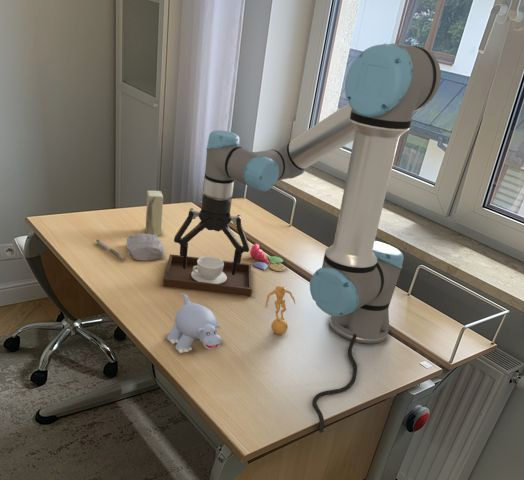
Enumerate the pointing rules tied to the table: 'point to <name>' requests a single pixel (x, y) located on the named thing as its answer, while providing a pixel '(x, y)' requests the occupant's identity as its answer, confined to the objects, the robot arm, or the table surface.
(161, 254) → the stone block
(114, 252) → the pen
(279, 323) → the figurine
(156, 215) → the box
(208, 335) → the hippopotamus toy
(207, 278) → the teacup
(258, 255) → the toy pieces
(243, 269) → the tray
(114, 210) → the table surface
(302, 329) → the table surface
